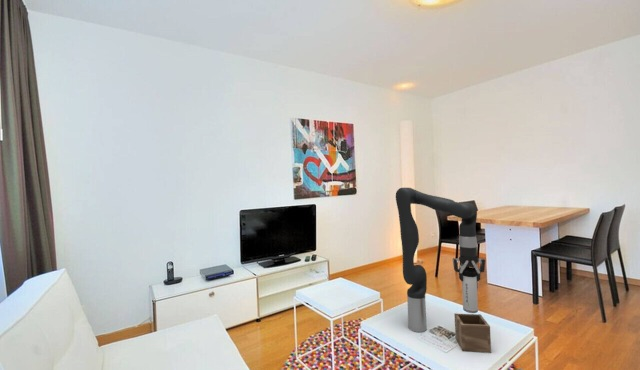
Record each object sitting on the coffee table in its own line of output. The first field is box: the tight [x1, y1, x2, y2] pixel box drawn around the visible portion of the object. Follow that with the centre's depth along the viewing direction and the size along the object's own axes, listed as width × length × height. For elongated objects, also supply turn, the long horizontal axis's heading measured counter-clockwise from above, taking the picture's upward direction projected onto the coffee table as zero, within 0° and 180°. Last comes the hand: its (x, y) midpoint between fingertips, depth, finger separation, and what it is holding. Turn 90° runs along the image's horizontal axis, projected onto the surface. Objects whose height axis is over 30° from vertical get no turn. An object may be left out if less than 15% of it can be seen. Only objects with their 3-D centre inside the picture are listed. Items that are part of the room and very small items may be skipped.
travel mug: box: [461, 267, 479, 314], centre depth 139 cm, size 6×7×20 cm
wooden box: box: [453, 313, 492, 354], centre depth 138 cm, size 12×12×12 cm
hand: (469, 280), depth 139 cm, fingers closed on travel mug, 6 cm apart
